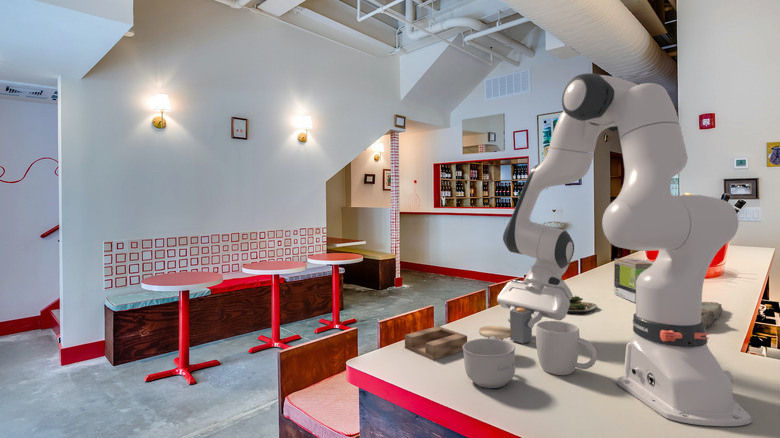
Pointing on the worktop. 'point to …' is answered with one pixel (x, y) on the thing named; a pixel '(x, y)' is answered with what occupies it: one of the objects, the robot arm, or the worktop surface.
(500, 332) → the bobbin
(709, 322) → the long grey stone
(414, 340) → the notch board
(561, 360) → the mug
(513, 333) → the grey knobbed block
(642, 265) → the tea box
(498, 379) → the teacup
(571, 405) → the worktop surface
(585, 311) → the salad plate
